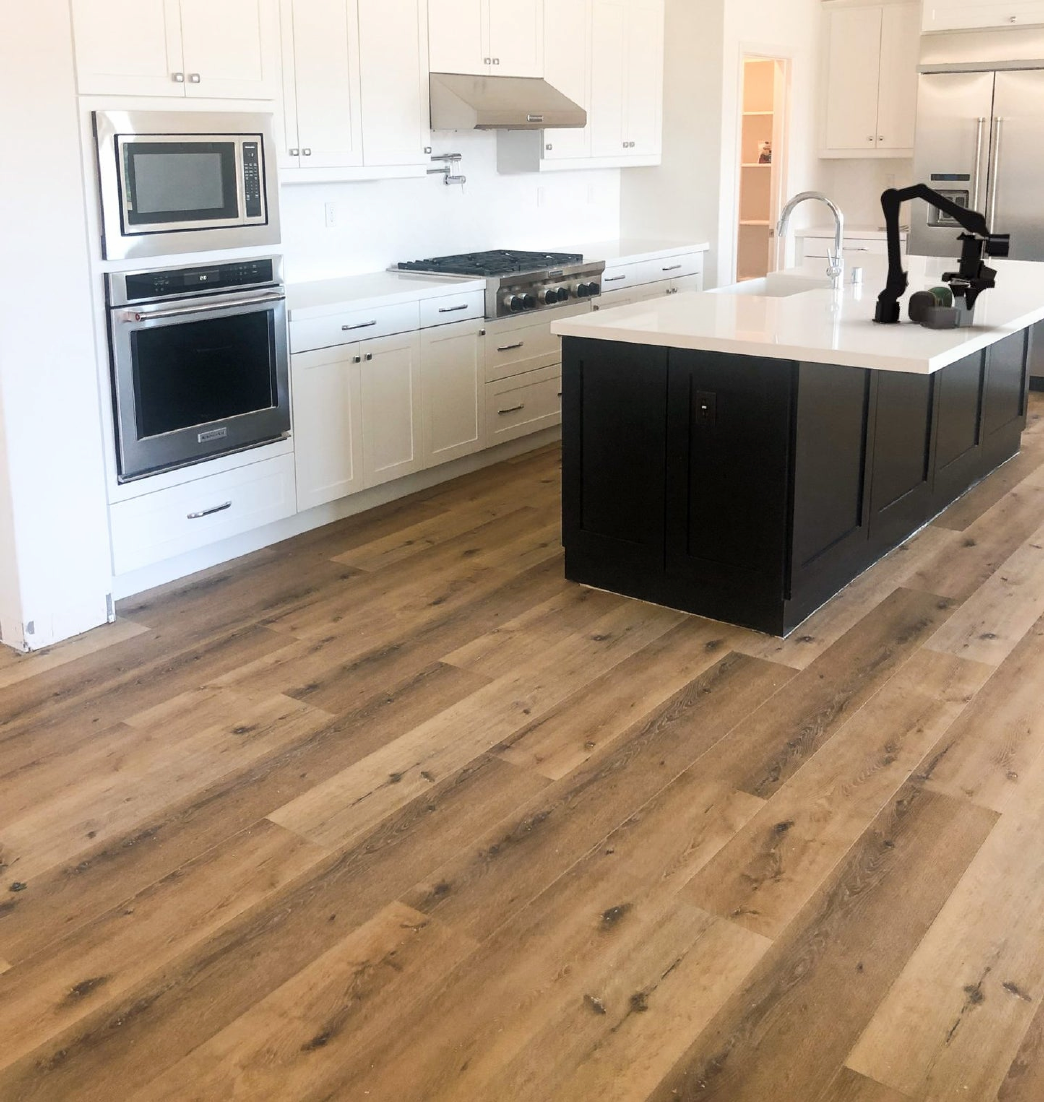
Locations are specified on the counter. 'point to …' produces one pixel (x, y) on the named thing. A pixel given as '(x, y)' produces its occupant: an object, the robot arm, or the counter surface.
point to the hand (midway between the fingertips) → (964, 309)
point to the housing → (938, 317)
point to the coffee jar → (928, 301)
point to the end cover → (963, 312)
